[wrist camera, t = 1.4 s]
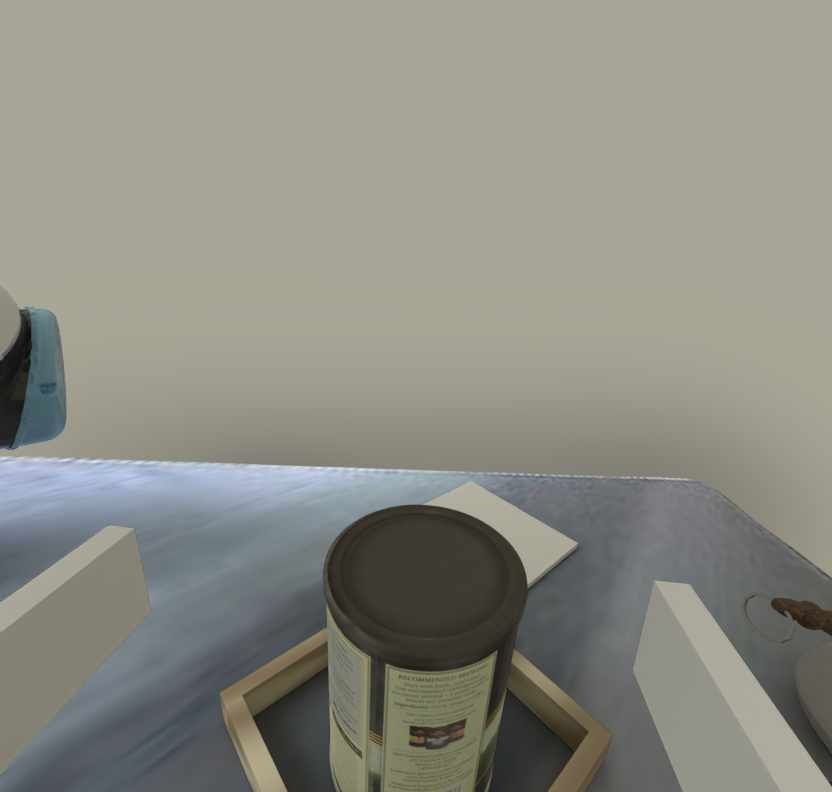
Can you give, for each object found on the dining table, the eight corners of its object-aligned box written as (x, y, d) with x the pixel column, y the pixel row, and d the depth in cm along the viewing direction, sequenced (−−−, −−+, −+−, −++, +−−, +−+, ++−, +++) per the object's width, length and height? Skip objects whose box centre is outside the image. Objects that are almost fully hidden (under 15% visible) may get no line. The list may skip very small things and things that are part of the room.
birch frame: (223, 720, 27) (219, 693, 26) (420, 590, 37) (422, 568, 37) (385, 1114, 15) (388, 1088, 14) (603, 760, 26) (612, 734, 25)
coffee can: (427, 639, 33) (442, 486, 28) (528, 768, 25) (572, 587, 20) (301, 714, 27) (291, 538, 22) (381, 911, 19) (393, 707, 15)
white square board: (378, 530, 45) (378, 525, 45) (470, 485, 54) (471, 481, 54) (486, 623, 35) (487, 618, 34) (576, 547, 44) (577, 543, 44)
